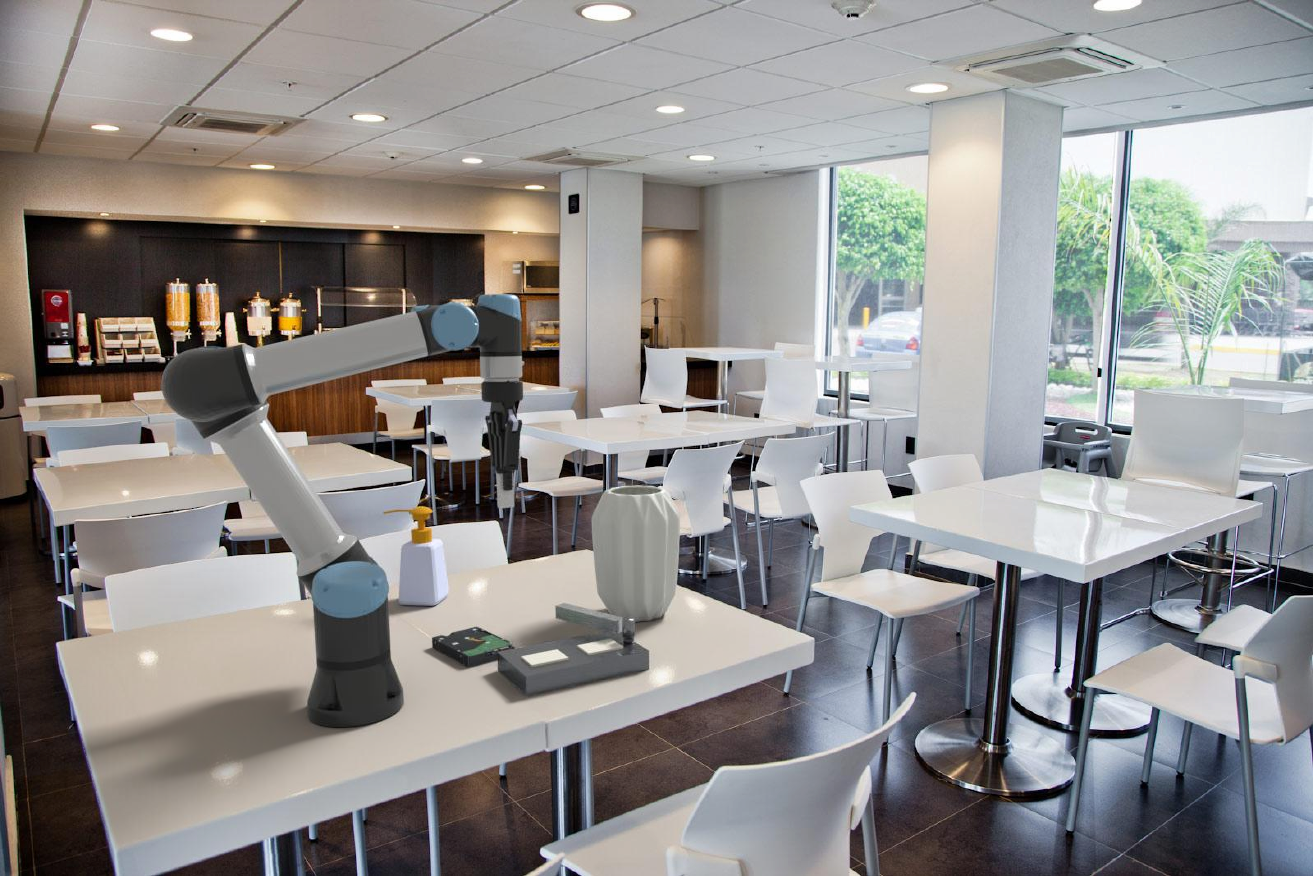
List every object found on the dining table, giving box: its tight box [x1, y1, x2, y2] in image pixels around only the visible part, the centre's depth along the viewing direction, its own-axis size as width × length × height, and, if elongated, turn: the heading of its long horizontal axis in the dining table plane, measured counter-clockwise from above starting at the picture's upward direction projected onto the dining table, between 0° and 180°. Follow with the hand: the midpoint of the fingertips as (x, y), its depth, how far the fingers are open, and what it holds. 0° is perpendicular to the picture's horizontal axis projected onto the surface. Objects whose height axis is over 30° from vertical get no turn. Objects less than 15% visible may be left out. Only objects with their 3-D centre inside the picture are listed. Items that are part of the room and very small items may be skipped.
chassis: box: [497, 630, 650, 697], centre depth 166 cm, size 24×14×4 cm, turn 120°
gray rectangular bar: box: [555, 602, 636, 638], centre depth 176 cm, size 19×2×3 cm, turn 51°
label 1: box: [521, 649, 569, 667], centre depth 162 cm, size 7×5×1 cm
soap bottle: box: [382, 505, 450, 607], centre depth 210 cm, size 10×14×22 cm
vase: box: [591, 485, 681, 623], centre depth 198 cm, size 20×20×27 cm
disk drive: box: [431, 626, 516, 669], centre depth 177 cm, size 10×3×15 cm
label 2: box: [577, 639, 623, 655], centre depth 168 cm, size 7×5×1 cm
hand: (505, 506), depth 169 cm, fingers closed
